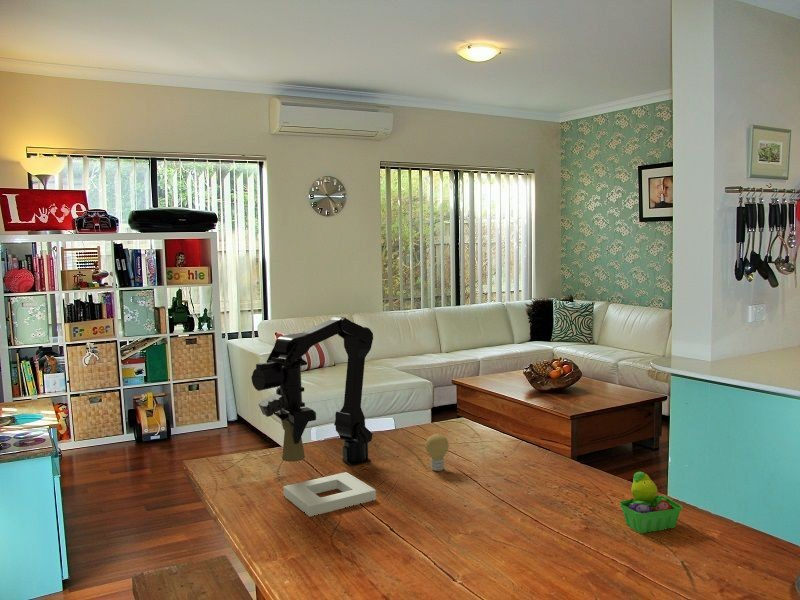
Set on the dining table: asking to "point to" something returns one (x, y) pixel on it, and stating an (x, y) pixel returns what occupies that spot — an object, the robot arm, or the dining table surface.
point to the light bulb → (437, 450)
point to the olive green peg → (291, 445)
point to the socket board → (314, 505)
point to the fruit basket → (649, 507)
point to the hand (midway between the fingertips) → (292, 441)
